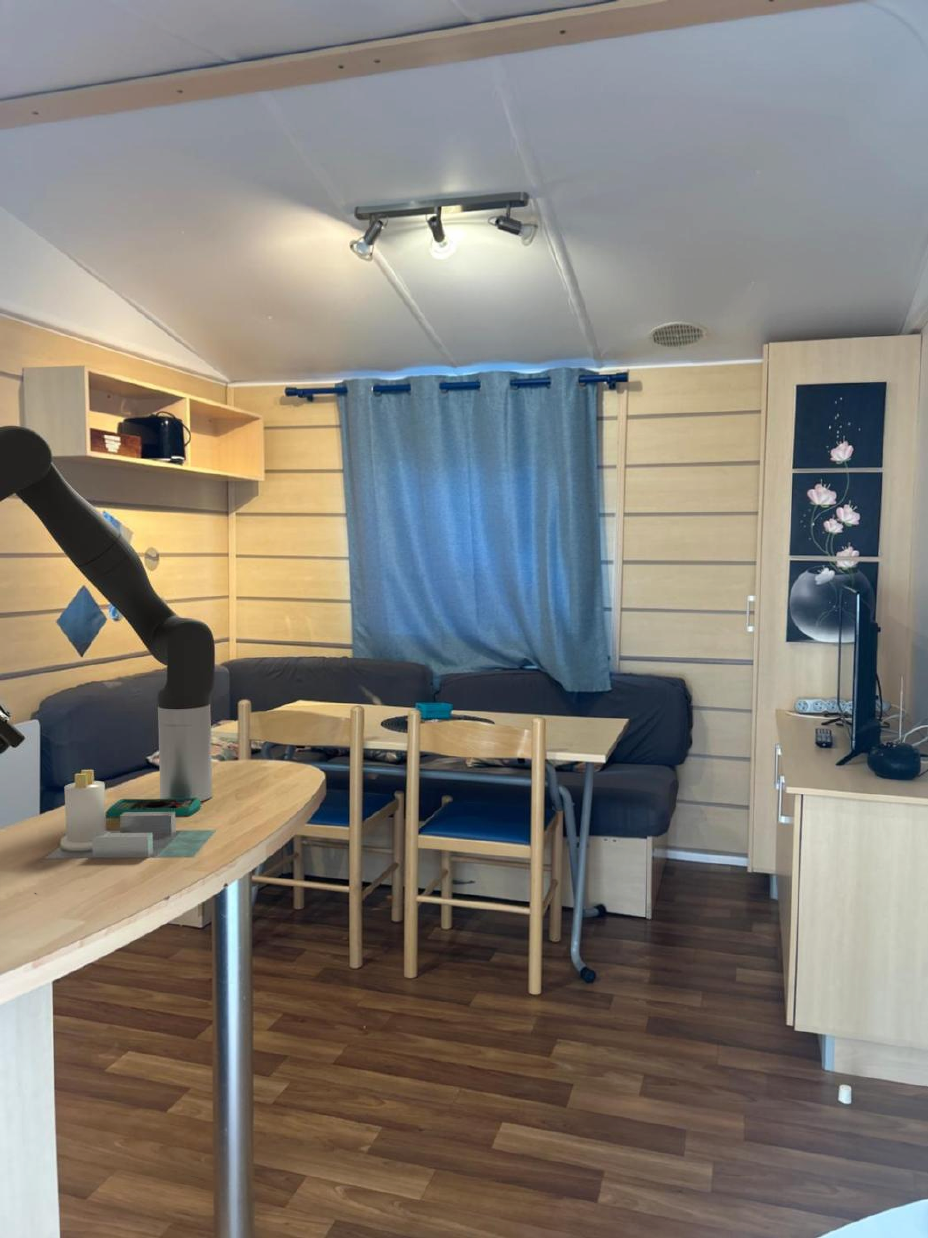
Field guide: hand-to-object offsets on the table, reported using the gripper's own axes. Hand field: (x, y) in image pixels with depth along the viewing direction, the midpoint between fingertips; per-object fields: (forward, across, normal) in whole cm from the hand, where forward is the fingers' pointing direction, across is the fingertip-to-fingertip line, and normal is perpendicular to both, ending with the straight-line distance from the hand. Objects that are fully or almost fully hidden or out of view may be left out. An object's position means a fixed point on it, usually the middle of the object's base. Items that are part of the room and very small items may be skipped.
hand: (12, 746), depth 138 cm
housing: (+24, 0, -1) cm, 24 cm away
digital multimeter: (+22, +18, +1) cm, 29 cm away
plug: (+18, 0, +3) cm, 18 cm away
